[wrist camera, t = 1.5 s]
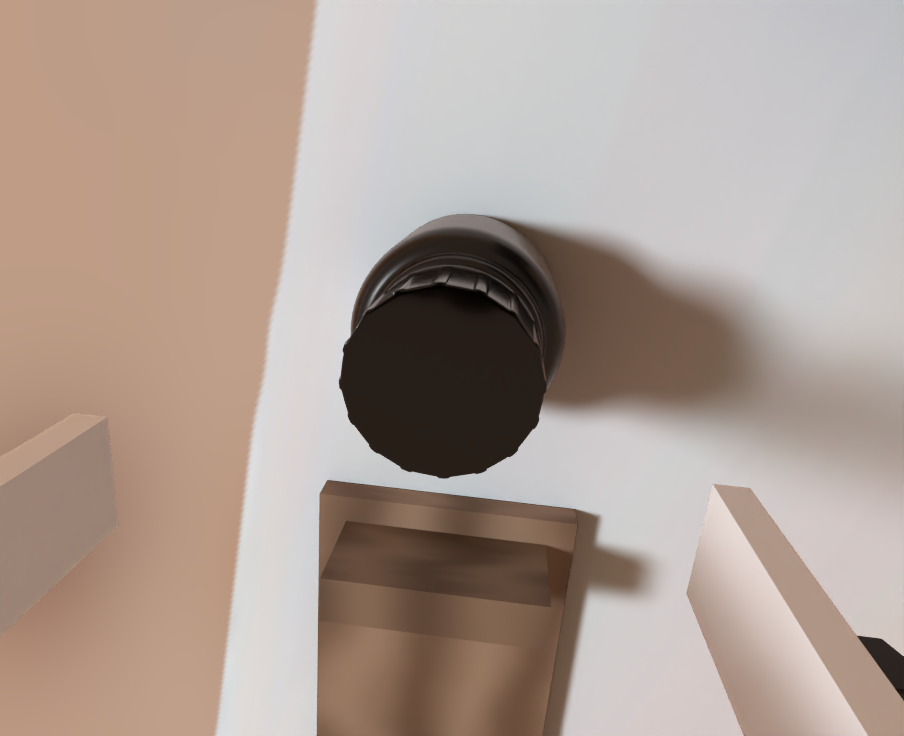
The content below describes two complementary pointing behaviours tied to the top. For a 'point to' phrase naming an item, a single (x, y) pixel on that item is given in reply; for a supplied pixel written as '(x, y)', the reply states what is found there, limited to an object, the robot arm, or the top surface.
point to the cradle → (437, 612)
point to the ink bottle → (453, 347)
